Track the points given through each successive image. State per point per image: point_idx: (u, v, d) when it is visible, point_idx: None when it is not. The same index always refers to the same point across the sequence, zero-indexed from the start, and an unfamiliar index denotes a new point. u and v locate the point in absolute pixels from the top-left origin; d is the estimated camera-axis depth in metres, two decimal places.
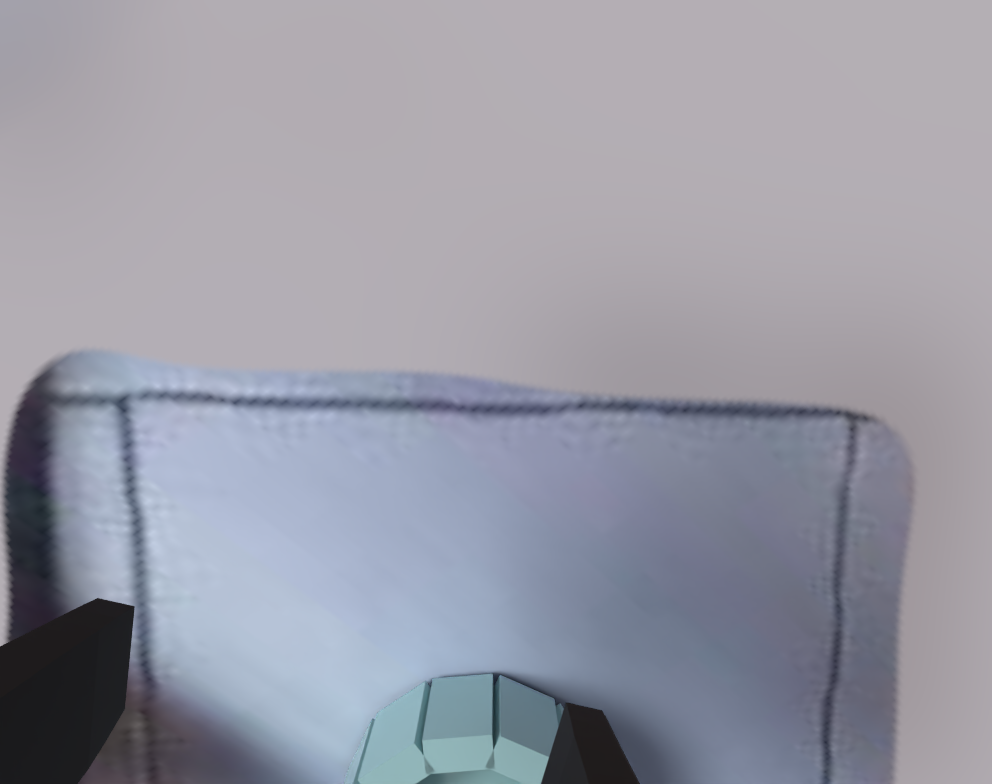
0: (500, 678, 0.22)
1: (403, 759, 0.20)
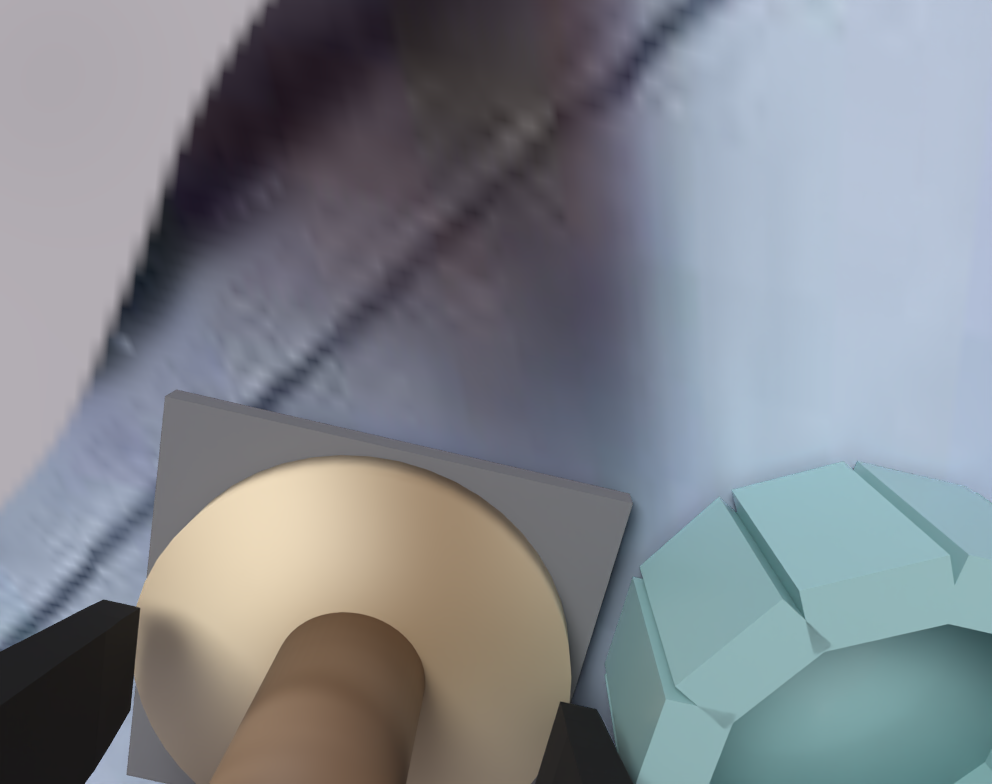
0: None
1: None
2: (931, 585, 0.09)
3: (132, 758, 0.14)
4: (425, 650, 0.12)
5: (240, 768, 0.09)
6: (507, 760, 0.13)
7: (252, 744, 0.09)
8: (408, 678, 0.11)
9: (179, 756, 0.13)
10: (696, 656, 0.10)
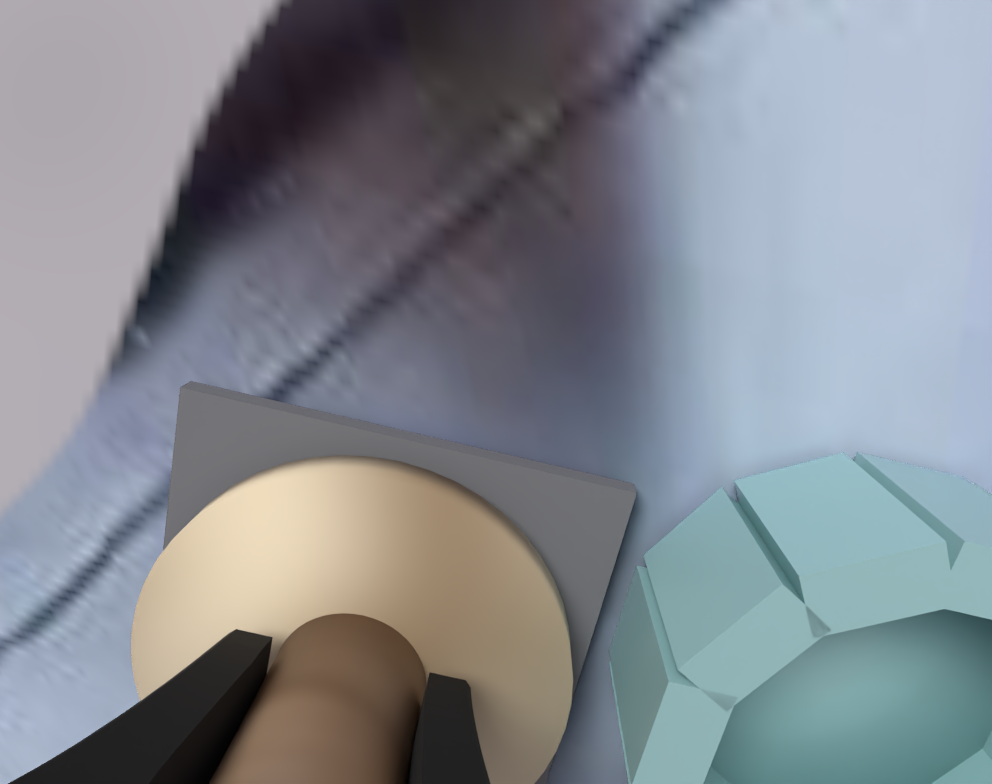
0: None
1: None
2: (928, 571, 0.09)
3: None
4: (425, 652, 0.12)
5: (239, 771, 0.09)
6: (509, 762, 0.13)
7: (251, 747, 0.09)
8: (409, 680, 0.11)
9: None
10: (698, 640, 0.10)
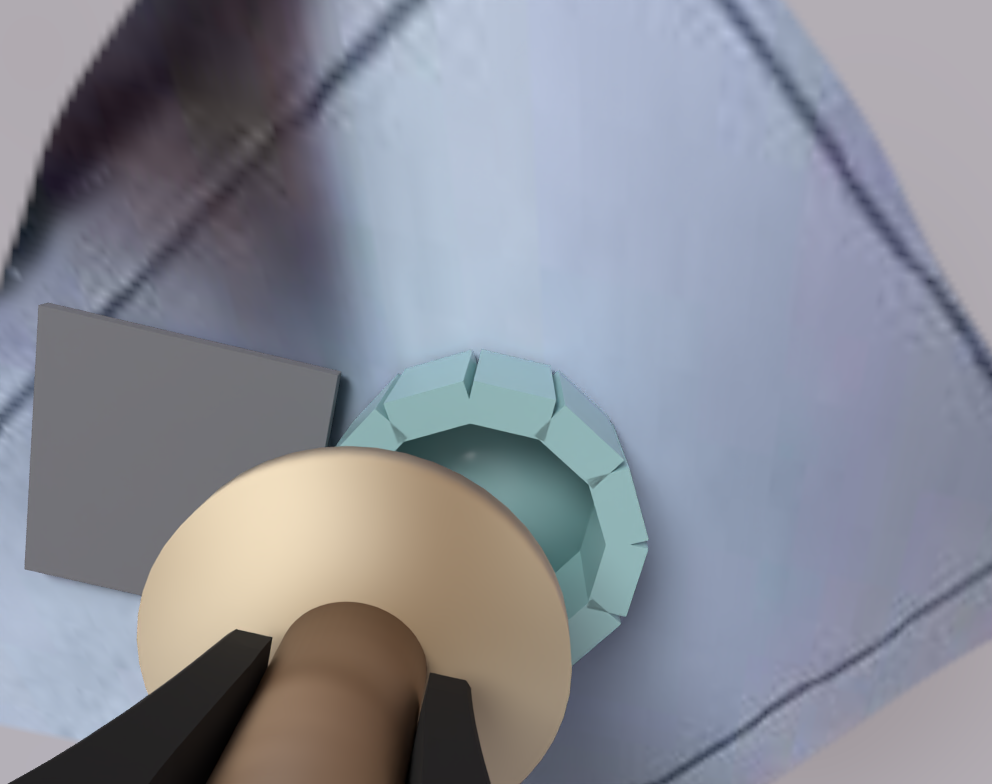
0: (613, 426, 0.19)
1: (531, 404, 0.16)
2: (456, 399, 0.16)
3: (27, 556, 0.21)
4: (428, 641, 0.12)
5: (246, 753, 0.09)
6: (506, 750, 0.13)
7: (258, 730, 0.09)
8: (411, 668, 0.12)
9: None
10: None
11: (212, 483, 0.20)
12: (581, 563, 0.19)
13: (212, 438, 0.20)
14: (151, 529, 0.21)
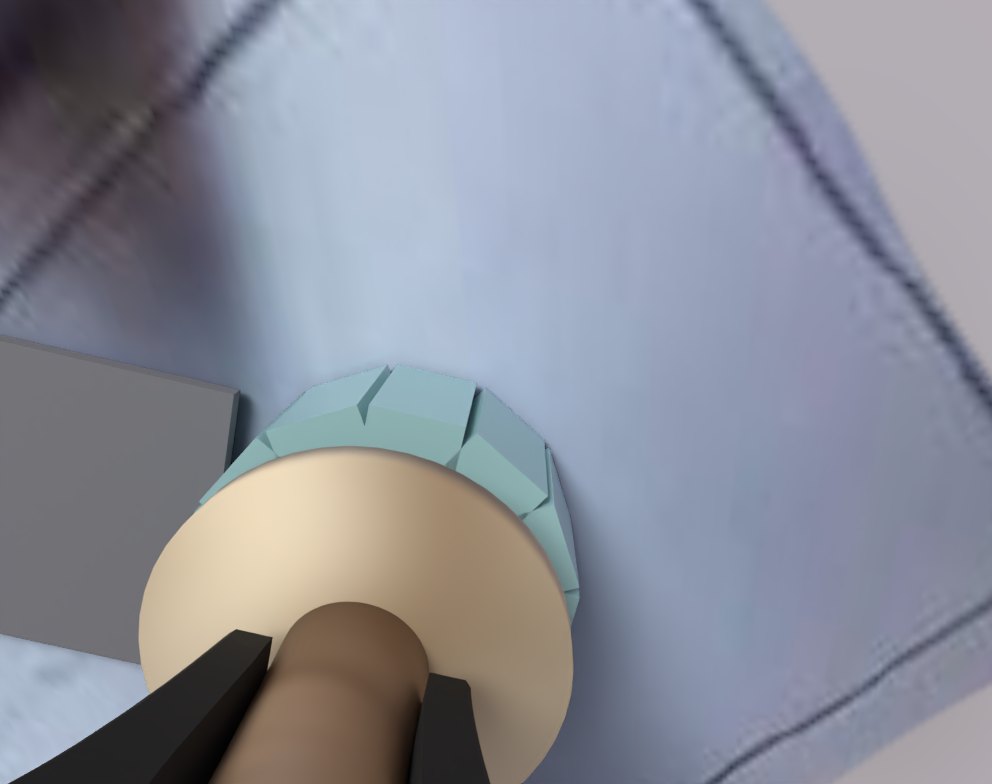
0: (549, 451, 0.17)
1: (437, 431, 0.14)
2: (350, 426, 0.14)
3: None
4: (429, 641, 0.12)
5: (248, 752, 0.09)
6: (508, 750, 0.13)
7: (260, 729, 0.09)
8: (413, 668, 0.12)
9: None
10: (216, 482, 0.15)
11: (99, 516, 0.18)
12: None
13: (96, 465, 0.17)
14: (33, 567, 0.18)
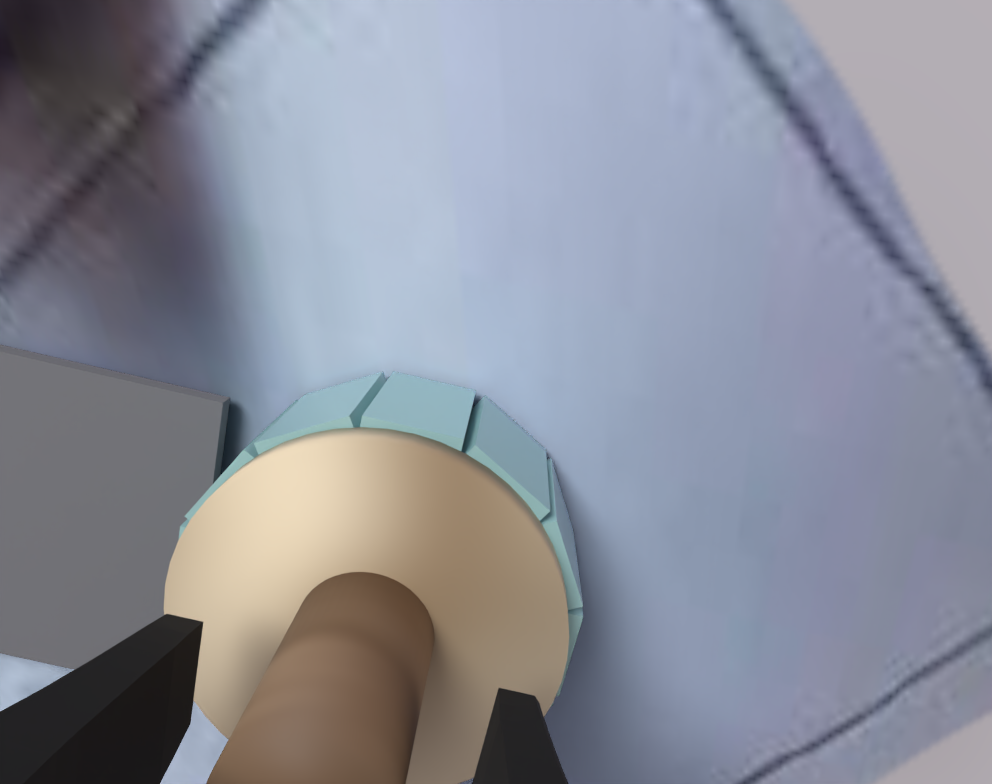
0: (551, 462, 0.16)
1: None
2: None
3: None
4: (435, 609, 0.13)
5: (272, 699, 0.10)
6: None
7: (283, 680, 0.10)
8: (420, 632, 0.13)
9: (204, 704, 0.14)
10: (203, 496, 0.14)
11: (84, 528, 0.17)
12: None
13: (80, 476, 0.17)
14: (16, 581, 0.18)
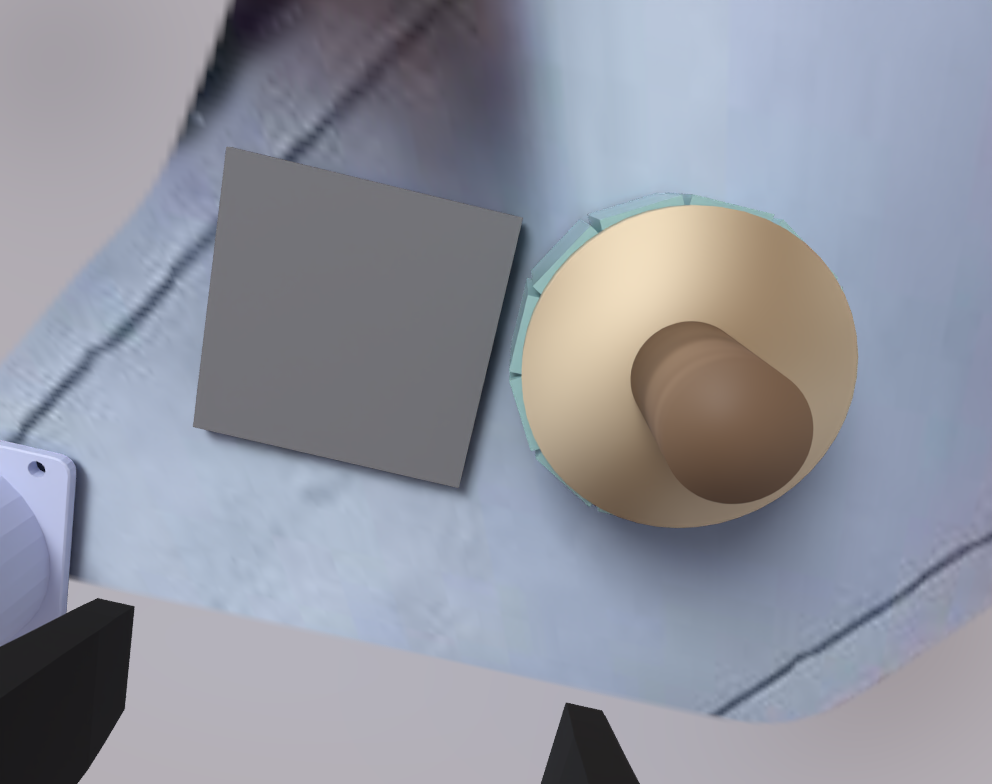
0: None
1: None
2: None
3: (197, 413, 0.21)
4: None
5: (701, 360, 0.13)
6: None
7: (699, 354, 0.13)
8: None
9: (543, 444, 0.17)
10: (546, 270, 0.17)
11: (388, 334, 0.20)
12: None
13: (391, 286, 0.20)
14: (323, 384, 0.21)
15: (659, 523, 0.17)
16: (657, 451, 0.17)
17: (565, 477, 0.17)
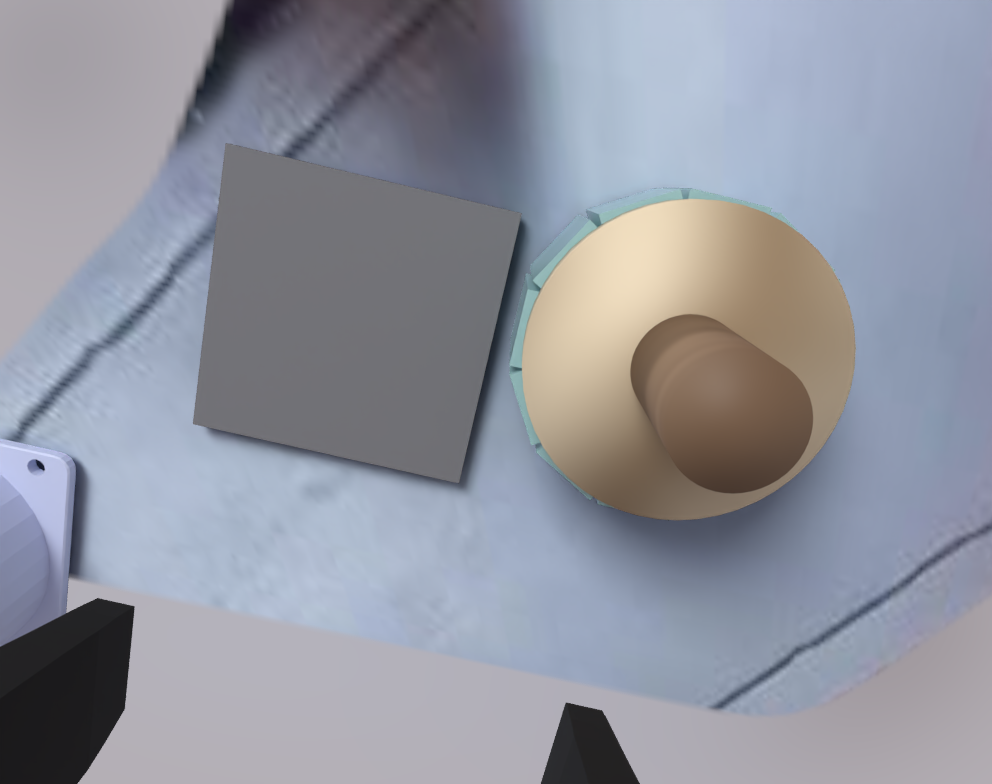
0: None
1: None
2: None
3: (197, 410, 0.21)
4: None
5: (702, 351, 0.13)
6: None
7: (699, 345, 0.14)
8: None
9: (544, 438, 0.17)
10: (545, 265, 0.17)
11: (388, 330, 0.20)
12: None
13: (391, 282, 0.20)
14: (323, 380, 0.21)
15: (659, 515, 0.18)
16: (657, 444, 0.17)
17: (565, 469, 0.17)
